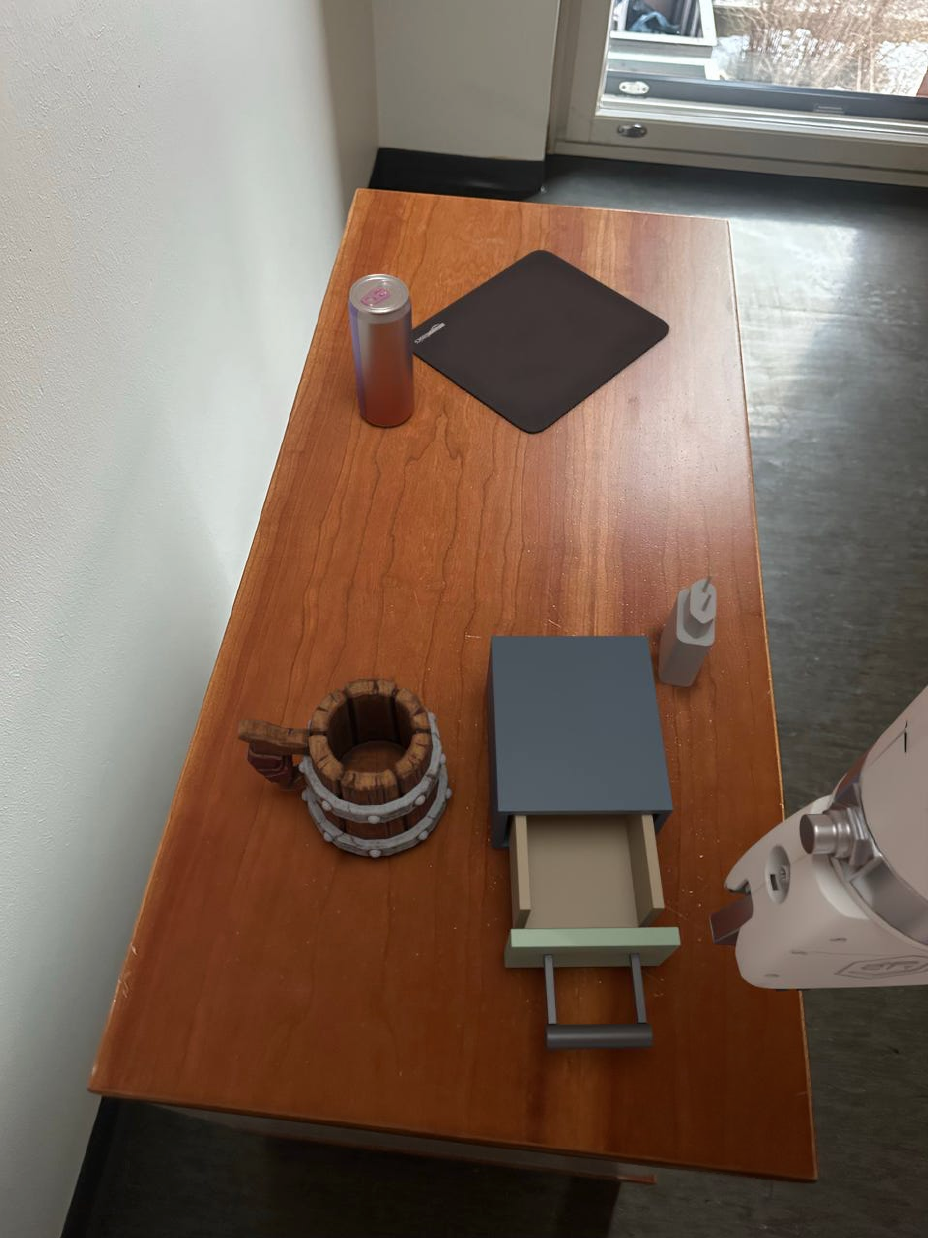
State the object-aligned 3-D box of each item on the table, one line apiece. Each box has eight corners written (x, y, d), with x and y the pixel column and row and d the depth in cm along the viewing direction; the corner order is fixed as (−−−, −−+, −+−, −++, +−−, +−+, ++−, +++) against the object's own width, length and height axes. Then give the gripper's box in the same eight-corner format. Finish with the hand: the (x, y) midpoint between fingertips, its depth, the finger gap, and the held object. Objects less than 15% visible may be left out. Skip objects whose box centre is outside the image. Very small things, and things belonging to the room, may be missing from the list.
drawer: (671, 1056, 62) (694, 1043, 57) (508, 1058, 62) (515, 1045, 56) (637, 791, 73) (654, 758, 67) (497, 792, 72) (503, 758, 67)
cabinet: (649, 848, 71) (673, 810, 64) (491, 849, 71) (498, 811, 64) (628, 686, 79) (647, 635, 72) (486, 686, 79) (491, 635, 71)
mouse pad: (540, 247, 112) (540, 245, 112) (675, 328, 104) (675, 326, 104) (395, 340, 102) (395, 339, 102) (533, 438, 94) (533, 436, 94)
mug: (464, 862, 70) (430, 793, 57) (288, 876, 71) (216, 812, 59) (459, 726, 76) (427, 636, 64) (297, 741, 78) (234, 657, 65)
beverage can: (347, 409, 96) (333, 292, 83) (387, 381, 98) (379, 263, 86) (386, 438, 94) (378, 322, 81) (425, 409, 96) (424, 292, 84)
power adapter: (658, 682, 79) (690, 609, 69) (660, 631, 82) (692, 553, 72) (693, 688, 79) (730, 615, 69) (694, 636, 82) (730, 559, 72)
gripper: (758, 955, 28) (649, 1044, 44) (1216, 942, 29) (950, 1034, 44) (714, 740, 33) (629, 890, 48) (1116, 732, 33) (904, 883, 48)
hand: (783, 959), depth 46 cm, fingers closed
